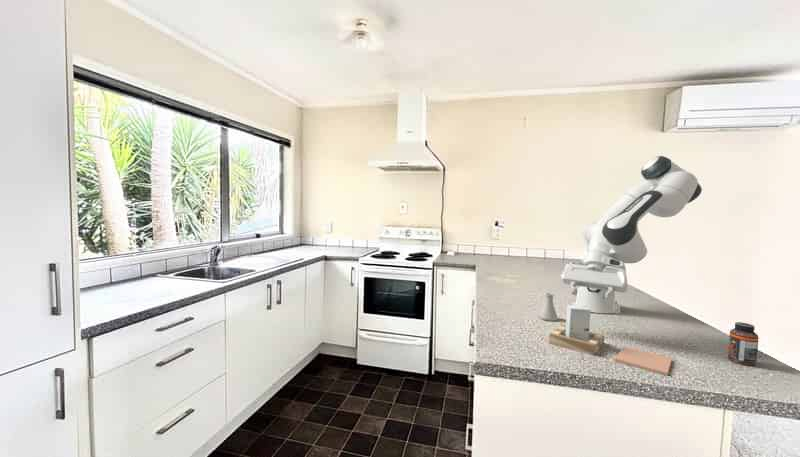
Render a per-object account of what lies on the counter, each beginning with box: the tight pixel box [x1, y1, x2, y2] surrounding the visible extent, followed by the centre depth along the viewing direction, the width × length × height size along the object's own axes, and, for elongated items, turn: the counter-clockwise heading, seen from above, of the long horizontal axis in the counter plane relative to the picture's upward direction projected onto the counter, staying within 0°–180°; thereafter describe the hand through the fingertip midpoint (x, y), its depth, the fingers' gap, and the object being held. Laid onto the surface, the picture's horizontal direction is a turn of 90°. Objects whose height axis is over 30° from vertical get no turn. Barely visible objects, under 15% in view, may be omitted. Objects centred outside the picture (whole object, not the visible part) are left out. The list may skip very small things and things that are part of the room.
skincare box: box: [565, 304, 591, 342], centre depth 110 cm, size 6×4×12 cm
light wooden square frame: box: [548, 324, 605, 356], centre depth 111 cm, size 13×13×3 cm
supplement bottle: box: [727, 321, 760, 367], centre depth 99 cm, size 6×6×11 cm
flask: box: [538, 293, 559, 322], centre depth 136 cm, size 7×7×10 cm
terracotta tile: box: [614, 346, 673, 377], centre depth 99 cm, size 13×12×1 cm
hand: (588, 296), depth 116 cm, fingers open, 8 cm apart
